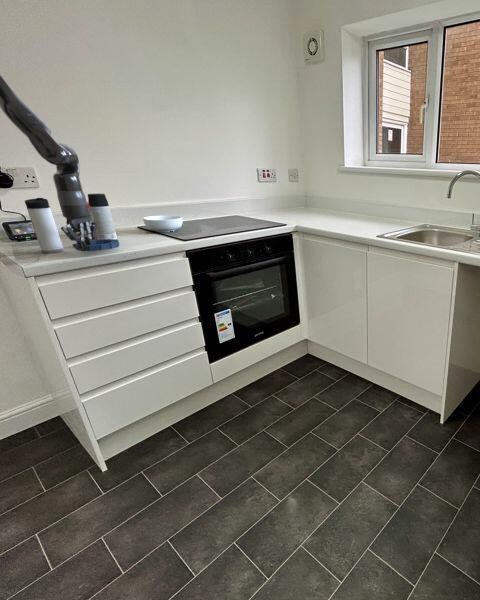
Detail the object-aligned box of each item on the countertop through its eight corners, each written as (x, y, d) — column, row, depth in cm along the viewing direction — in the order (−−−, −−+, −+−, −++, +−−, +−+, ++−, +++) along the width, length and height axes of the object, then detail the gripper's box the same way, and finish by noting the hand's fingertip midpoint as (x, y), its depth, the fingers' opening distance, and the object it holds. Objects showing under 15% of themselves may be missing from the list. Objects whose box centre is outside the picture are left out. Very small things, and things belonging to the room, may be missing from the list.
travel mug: (67, 249, 141) (51, 197, 133) (59, 252, 135) (42, 199, 128) (47, 249, 139) (29, 197, 131) (38, 253, 133) (19, 199, 126)
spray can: (117, 237, 162) (105, 193, 155) (117, 240, 158) (105, 194, 150) (99, 239, 159) (86, 193, 151) (98, 242, 154) (85, 194, 146)
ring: (102, 251, 132) (100, 246, 131) (67, 250, 132) (65, 245, 131) (127, 244, 144) (126, 239, 143) (95, 243, 144) (93, 238, 143)
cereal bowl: (178, 234, 175) (176, 219, 173) (140, 234, 171) (137, 220, 168) (188, 228, 190) (185, 214, 188) (153, 228, 186) (150, 215, 183)
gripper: (79, 201, 133) (91, 246, 139) (45, 204, 120) (60, 254, 126) (99, 202, 133) (110, 246, 139) (67, 205, 120) (81, 255, 126)
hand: (86, 250), depth 133 cm, fingers closed on ring, 2 cm apart
